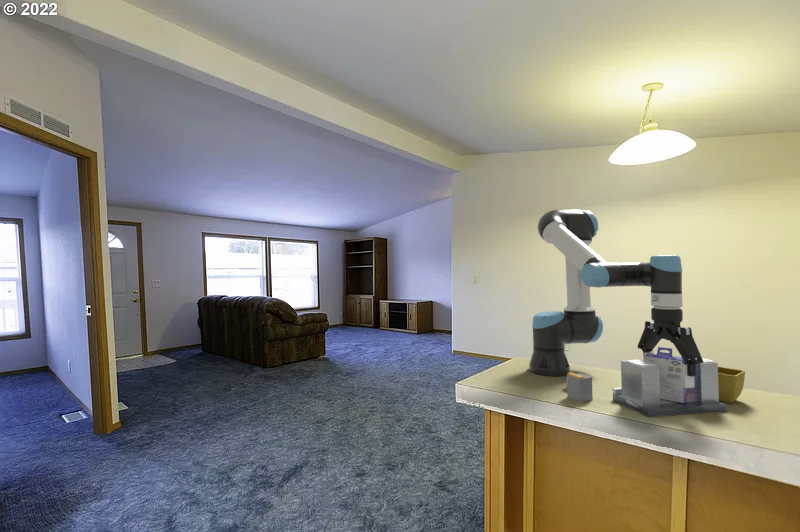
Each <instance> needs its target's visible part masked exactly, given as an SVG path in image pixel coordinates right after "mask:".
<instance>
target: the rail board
mask: <svg viewBox="0 0 800 532" xmlns="http://www.w3.org/2000/svg"><path fill="white" fill-rule="evenodd" d="M696 359H697V358H696ZM702 359H703V363H700V364H696V376H694V388H687V400H686V401H685V402H684V403H680V402H675V401H670V400H665V399H660V375H659V366H657V365H656V364H653V363H650V362H646V361H644V359H643V360H642V359H627V360H626V359H625V360H624V359H623V360H620V374H621V375H620V378H621V379H620V380H621V387H613V388H612V401H614V402H617V403H619V404H621V405H623V406H624V407H627V408H629V409H631V410H633V411H635V412H637V413H639V414H641V415H643V416H645V417H647V418H655V417H665V416H669V417H670V416H679V415H690V414H691V415H693V414H705V413H706V414H707V413H718V412H719V413H720V412H727V406H726V405H727V404H726V402H723V401H719V390H718V367H719V363H718V362H715V361H714V360H712V359H707V358H703V357H702ZM689 360H690V359H689Z"/></svg>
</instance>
